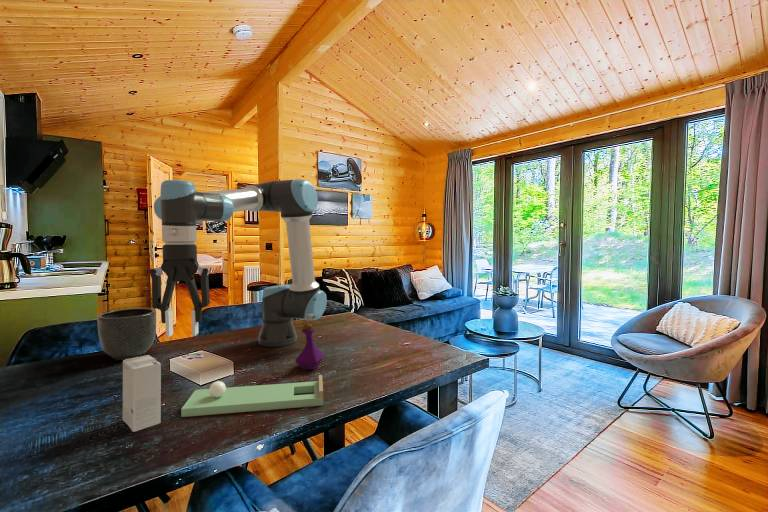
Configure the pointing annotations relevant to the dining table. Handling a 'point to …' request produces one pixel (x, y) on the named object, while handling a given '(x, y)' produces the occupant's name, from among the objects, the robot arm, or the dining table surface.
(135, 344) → the planter
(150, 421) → the skincare box
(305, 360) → the perfume bottle
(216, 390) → the ball
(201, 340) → the dining table surface
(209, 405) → the green
